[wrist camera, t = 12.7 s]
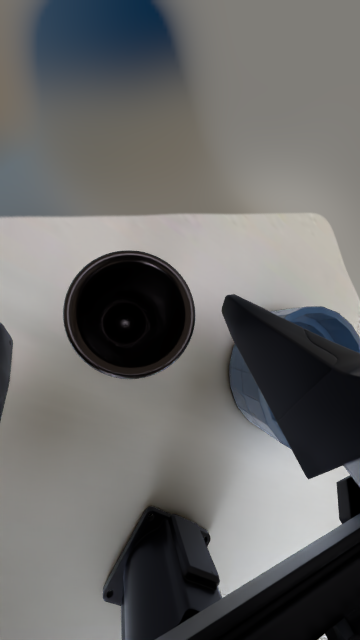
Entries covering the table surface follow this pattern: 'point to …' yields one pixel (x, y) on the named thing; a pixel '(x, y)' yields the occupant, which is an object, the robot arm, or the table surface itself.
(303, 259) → the table surface
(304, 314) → the basin
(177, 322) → the grey hollow cylinder
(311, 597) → the robot arm
